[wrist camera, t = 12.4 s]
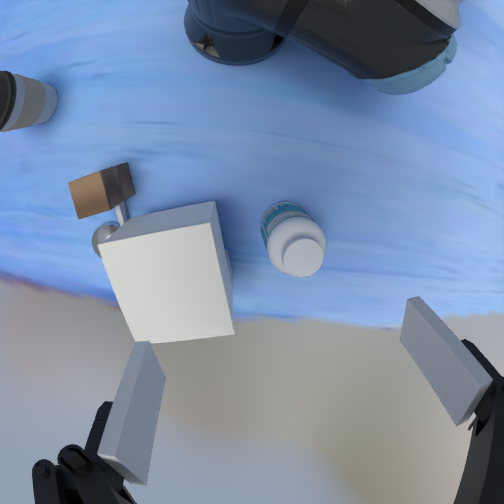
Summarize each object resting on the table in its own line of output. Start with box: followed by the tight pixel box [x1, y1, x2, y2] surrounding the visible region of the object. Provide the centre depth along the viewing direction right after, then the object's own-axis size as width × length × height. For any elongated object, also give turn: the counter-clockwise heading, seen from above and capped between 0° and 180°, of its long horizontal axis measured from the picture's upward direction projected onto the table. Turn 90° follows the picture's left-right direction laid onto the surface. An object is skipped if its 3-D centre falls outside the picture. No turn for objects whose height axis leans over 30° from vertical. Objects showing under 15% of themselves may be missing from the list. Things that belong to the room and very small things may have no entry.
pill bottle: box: [260, 202, 326, 277], centre depth 38 cm, size 8×7×14 cm
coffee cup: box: [0, 71, 58, 132], centre depth 26 cm, size 9×9×15 cm
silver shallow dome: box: [92, 221, 121, 258], centre depth 43 cm, size 6×6×2 cm
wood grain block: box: [68, 162, 135, 226], centre depth 37 cm, size 14×5×10 cm, turn 11°
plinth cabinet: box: [98, 201, 235, 343], centre depth 37 cm, size 13×12×16 cm
